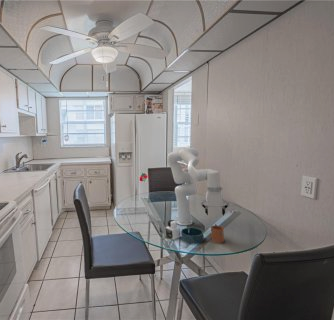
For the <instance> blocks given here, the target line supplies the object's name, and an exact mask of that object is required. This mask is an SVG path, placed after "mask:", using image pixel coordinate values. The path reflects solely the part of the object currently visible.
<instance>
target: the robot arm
mask: <svg viewBox="0 0 334 320" xmlns="http://www.w3.org/2000/svg"><path fill="white" fill-rule="evenodd" d="M198 156H199V151H198V149H197V148H195V147H185V148H182V149H180V150H174V151H171V152H169V153H168V155H167V162H168V165H169V167H170V169H171V173H172V177H173V180H174V184H177V186H175V188H174V193H175V199H176V207H177V215H175V216H174V217H175V218H174V219H176V222H177V224H178V225H180V226H191V225H192V224H193V223H194V222H193V220H191V210H190V201H189V199H188V197H190V196H194V195H196V194H197V186H196V182H203V181H207V182H206V184H207V190H206V192H205V199H203V200H202V201H200V202H199V203H200V205H201V206H202V207H203V209H204V212H205V214H206V216H208V215H209V209H208V208H210V207H212V208H213V207H216V208H221V213H222V216H225V214H226V209H227V208H229V205H230V202H229V201H227V200H225V199H224V197H223V190H224V188H223V187H221V173H220V171H219V170H215V169H212V168H201V169H196V168H195V167H197V166H198V164H199V161H200V160H199V158H198ZM182 161H183V162H184V163H185V164H186V165H187V170H185V171H183V168H182V165H181V164H180V163H179V162H182Z"/></svg>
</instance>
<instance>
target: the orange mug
mask: <svg viewBox="0 0 334 320" xmlns="http://www.w3.org/2000/svg"><path fill="white" fill-rule="evenodd" d="M210 235H211V236H210V237H211V241H212V242H214V243H218V244H221V243H223V242H225V233H224V227H223V226H221V225H217V223H215V224H214V225H211V226H210Z"/></svg>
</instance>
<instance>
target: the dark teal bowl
mask: <svg viewBox="0 0 334 320" xmlns="http://www.w3.org/2000/svg"><path fill="white" fill-rule="evenodd" d="M180 238H181V240H182V241H183V242H185V243H188V244H200V243H203V242H204V240H205V237H204V230H202V229H200V228H198V227H185V228H182V229H180ZM203 239H204V240H203Z"/></svg>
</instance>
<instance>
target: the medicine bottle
mask: <svg viewBox="0 0 334 320" xmlns="http://www.w3.org/2000/svg"><path fill="white" fill-rule="evenodd" d="M165 236H166V237H167V238H168V239H171V241H172V240H176V239H179V238H181V229H180V227H178V225H177V220H175V219H170V220H168V221H167V226H165Z"/></svg>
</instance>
